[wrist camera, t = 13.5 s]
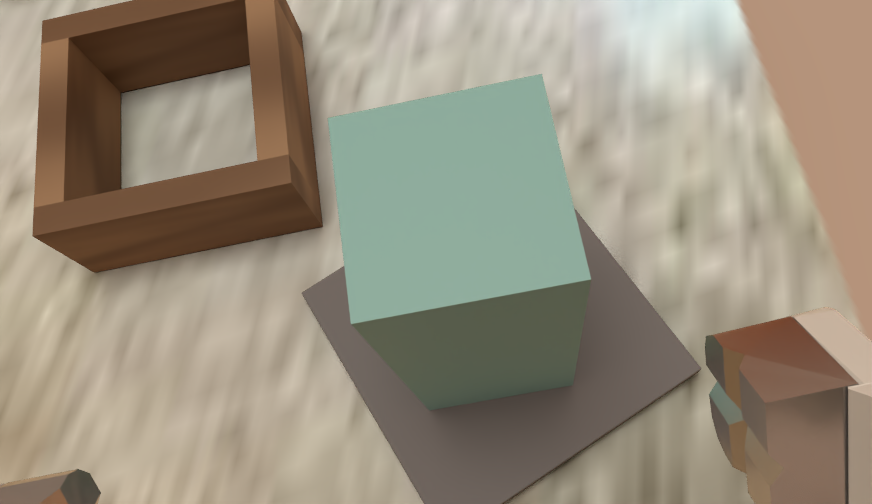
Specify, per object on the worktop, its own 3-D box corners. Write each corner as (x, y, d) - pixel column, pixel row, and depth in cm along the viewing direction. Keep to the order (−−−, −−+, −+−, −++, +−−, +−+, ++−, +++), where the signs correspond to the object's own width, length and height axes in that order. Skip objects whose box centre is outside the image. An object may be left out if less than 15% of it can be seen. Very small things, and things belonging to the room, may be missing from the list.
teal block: (572, 385, 23) (591, 278, 13) (429, 410, 23) (350, 324, 14) (543, 251, 24) (541, 73, 15) (409, 276, 25) (327, 118, 15)
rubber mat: (697, 372, 23) (701, 368, 22) (448, 540, 22) (445, 540, 22) (528, 158, 26) (527, 149, 26) (306, 298, 26) (301, 292, 25)
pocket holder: (322, 226, 26) (291, 182, 23) (94, 272, 27) (32, 236, 24) (301, 31, 30) (270, -32, 26) (96, 76, 30) (42, 20, 27)
